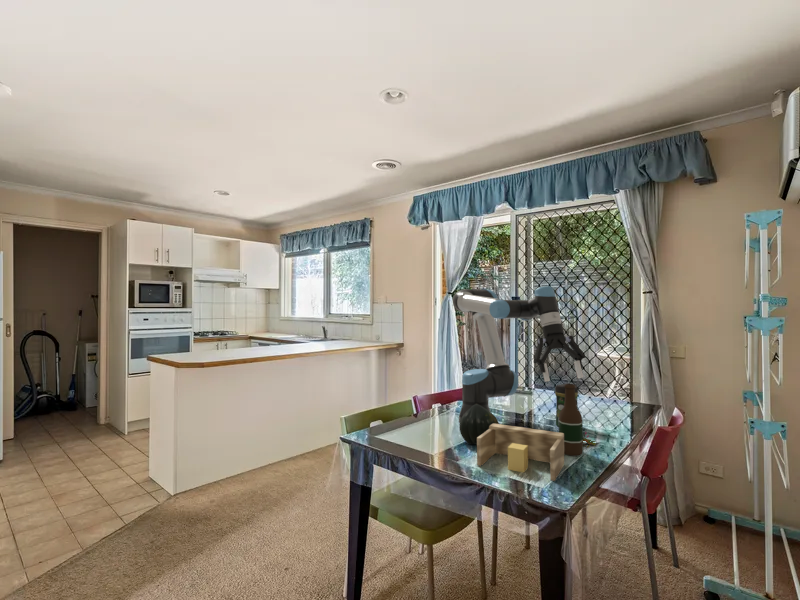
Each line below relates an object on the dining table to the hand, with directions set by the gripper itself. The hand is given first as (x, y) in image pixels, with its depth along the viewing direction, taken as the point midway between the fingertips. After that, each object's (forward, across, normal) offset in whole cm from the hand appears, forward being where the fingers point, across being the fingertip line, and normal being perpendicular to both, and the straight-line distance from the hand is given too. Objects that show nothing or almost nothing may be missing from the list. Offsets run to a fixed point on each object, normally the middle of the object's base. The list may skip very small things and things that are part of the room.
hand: (564, 379), depth 156 cm
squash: (+19, -32, +15) cm, 40 cm away
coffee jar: (+18, +14, +30) cm, 37 cm away
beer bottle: (+26, -4, -1) cm, 26 cm away
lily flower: (+24, +7, +9) cm, 26 cm away
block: (+27, -29, -11) cm, 41 cm away
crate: (+26, -27, -9) cm, 38 cm away
